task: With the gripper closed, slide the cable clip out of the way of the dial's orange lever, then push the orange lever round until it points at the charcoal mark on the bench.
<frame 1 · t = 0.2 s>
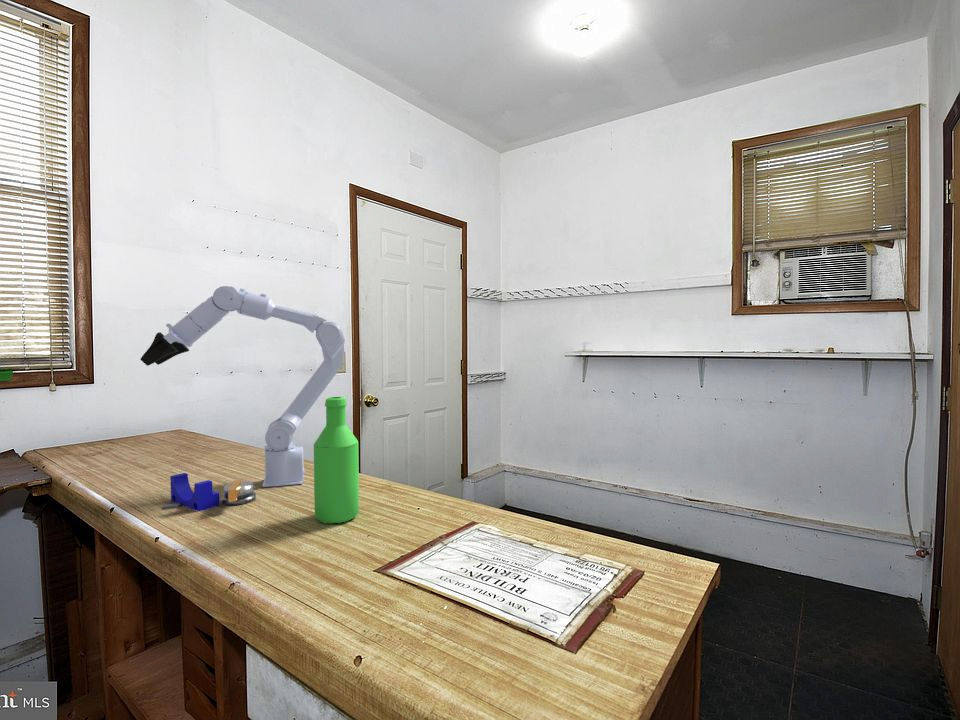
hand: (149, 362, 113), 31 cm above the table, tool tilted 45°, fingers open, 7 cm apart
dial: (236, 490, 108), point 3 cm above the table, hinge at 90.0°
bottle: (337, 518, 100), on the table
cable clip: (195, 504, 108), on the table
mark: (171, 506, 106), on the table
dial housing: (238, 500, 110), on the table
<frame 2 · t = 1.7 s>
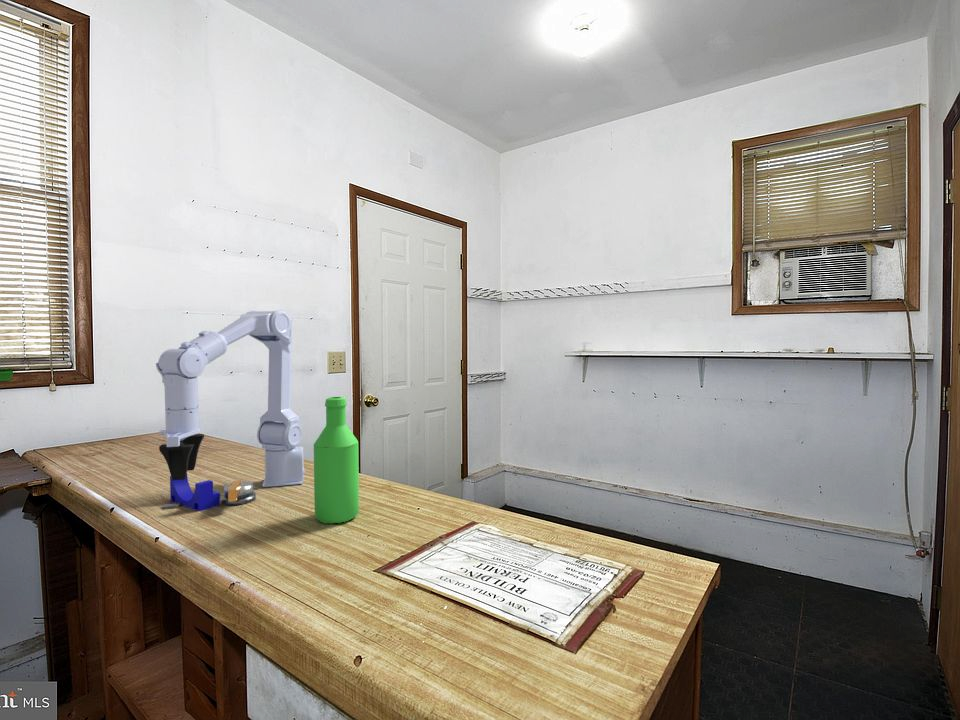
hand: (183, 474, 98), 9 cm above the table, tool pointing down, fingers open, 6 cm apart
nothing on the table moved.
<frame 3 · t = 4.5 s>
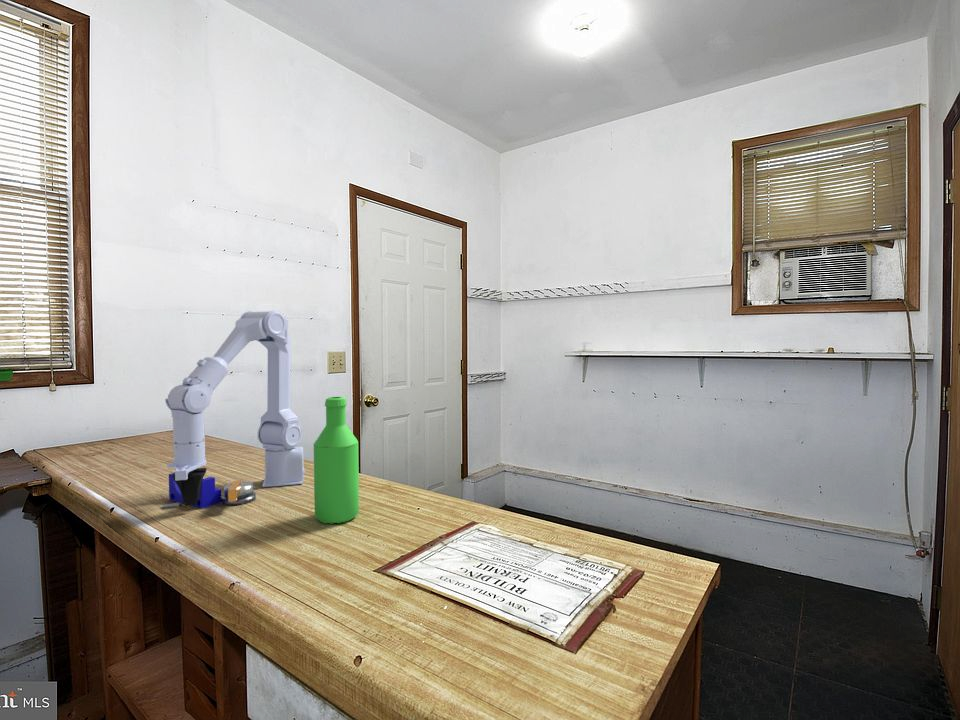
hand: (190, 504, 103), 2 cm above the table, tool pointing down, fingers closed
cable clip: (195, 502, 110), on the table, touching gripper
everything else where it was.
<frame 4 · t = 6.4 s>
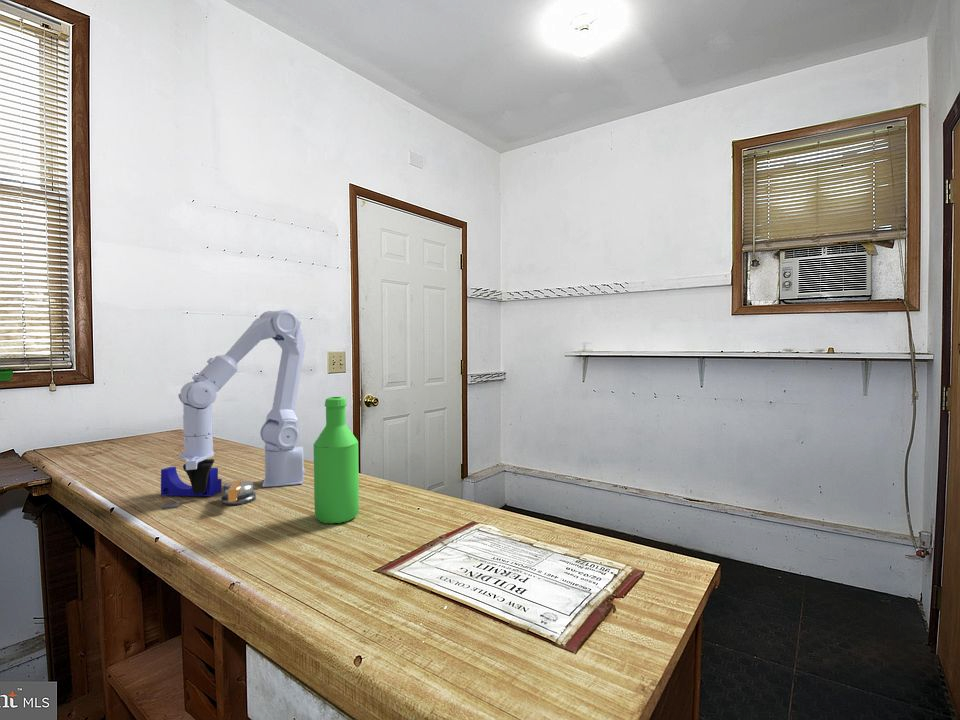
hand: (199, 493, 110), 2 cm above the table, tool pointing down, fingers closed
cable clip: (191, 493, 115), on the table, touching gripper
everything else where it was.
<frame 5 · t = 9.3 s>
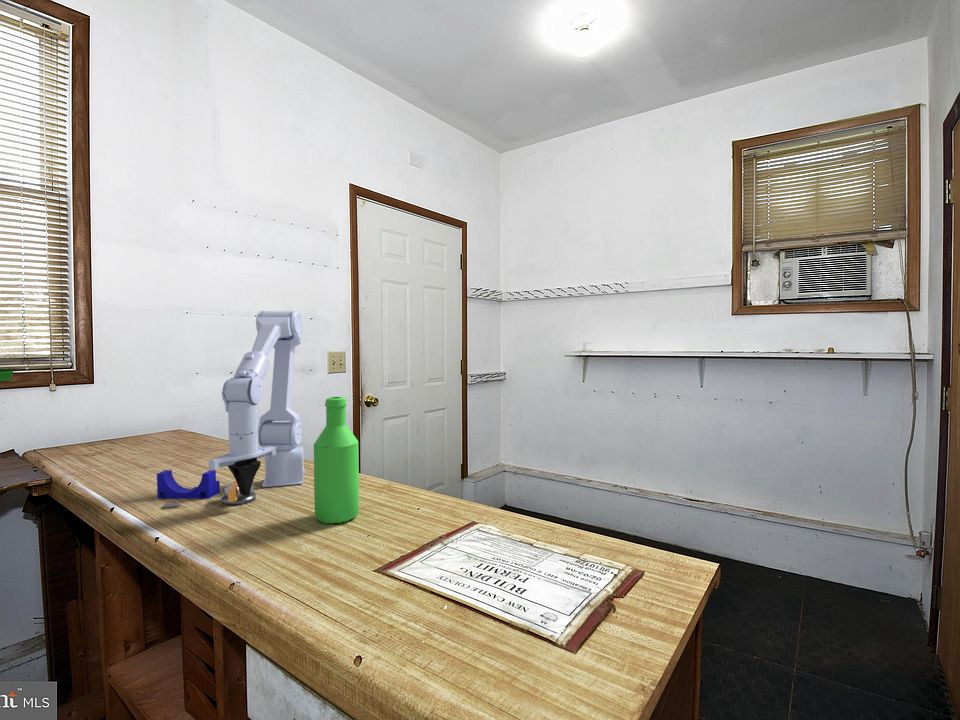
hand: (244, 494, 105), 3 cm above the table, tool pointing down, fingers closed, pressing on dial
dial: (236, 490, 108), point 3 cm above the table, hinge at 89.6°, touching gripper
cable clip: (189, 496, 114), on the table
everything else where it was.
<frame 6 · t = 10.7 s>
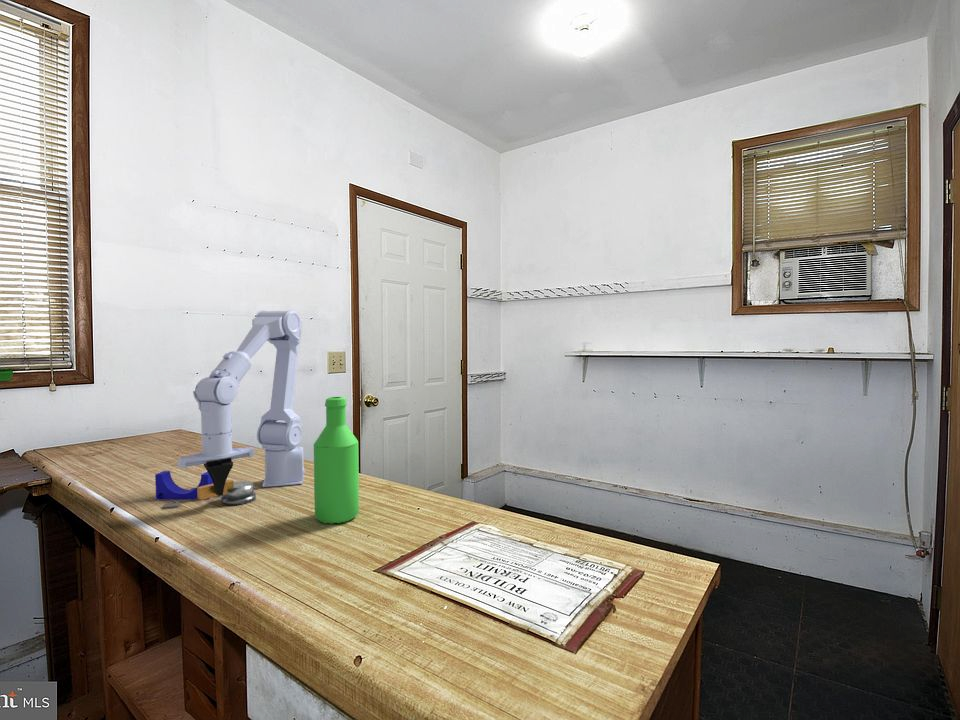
hand: (218, 494, 105), 3 cm above the table, tool pointing down, fingers closed, pressing on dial
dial: (226, 489, 108), point 3 cm above the table, hinge at 34.3°, touching gripper
everything else where it was.
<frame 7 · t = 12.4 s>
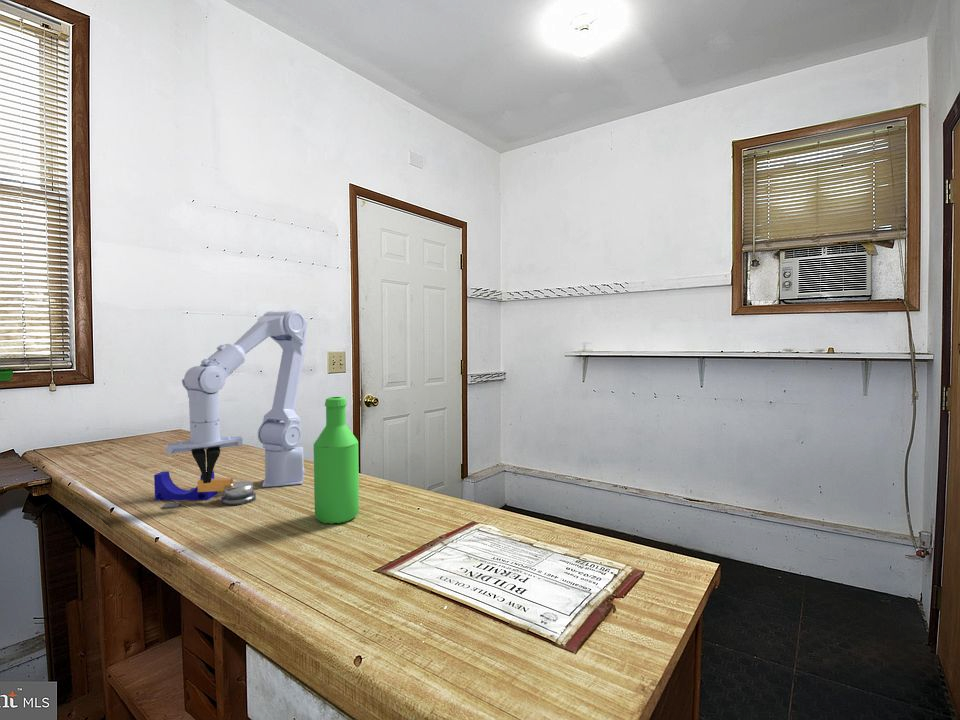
hand: (206, 481, 106), 5 cm above the table, tool pointing down, fingers closed
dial: (225, 487, 110), point 3 cm above the table, hinge at -11.0°
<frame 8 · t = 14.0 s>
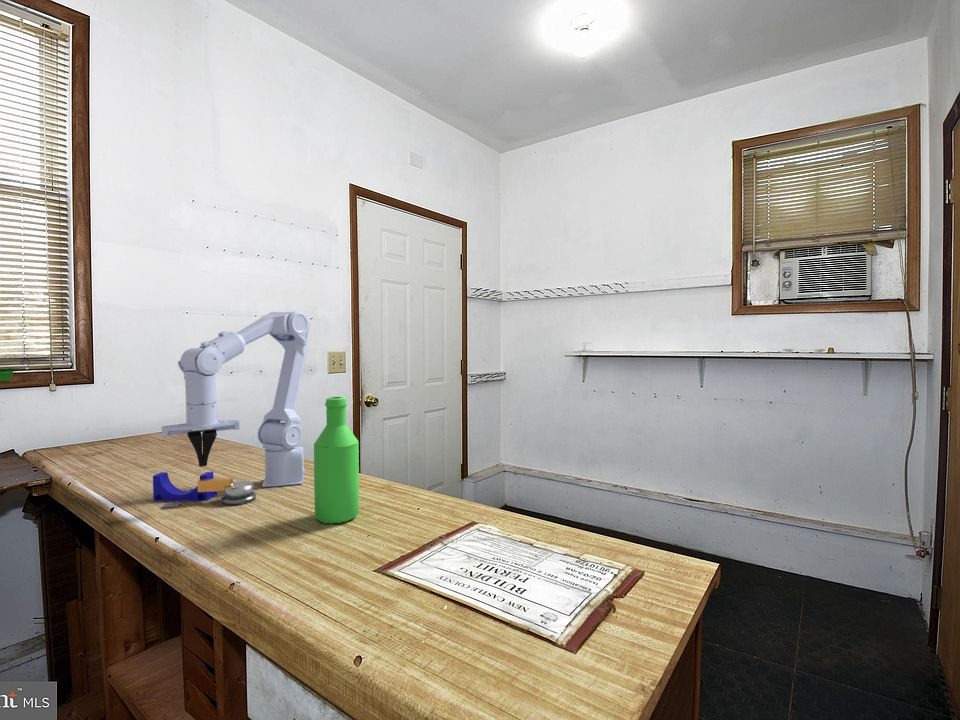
hand: (202, 465, 105), 9 cm above the table, tool pointing down, fingers closed
at the end: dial at -11° (first picture: +90°); cable clip inside the target area (7.7 cm from its centre), on the table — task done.
